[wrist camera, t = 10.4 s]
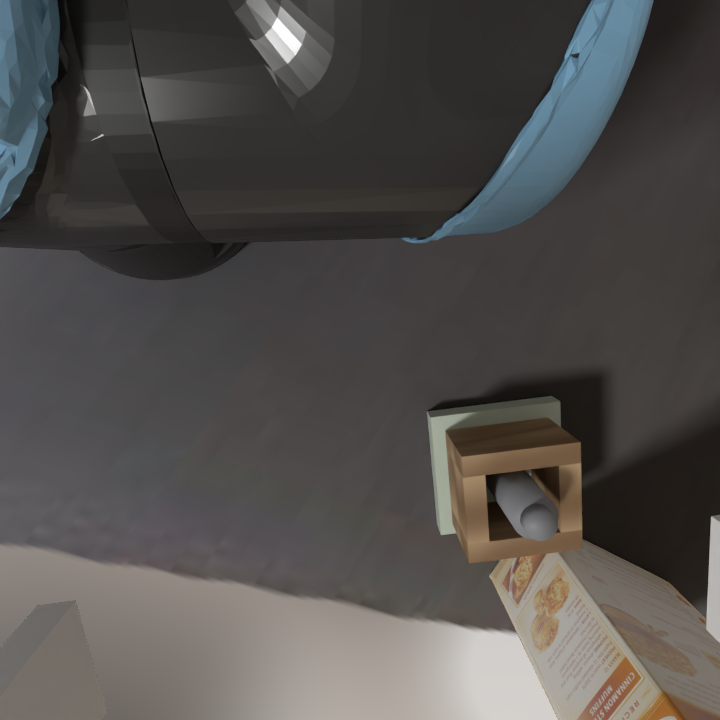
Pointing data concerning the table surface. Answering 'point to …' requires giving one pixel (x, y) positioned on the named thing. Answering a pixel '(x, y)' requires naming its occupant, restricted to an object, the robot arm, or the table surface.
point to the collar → (508, 454)
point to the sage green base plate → (510, 489)
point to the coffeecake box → (610, 637)
